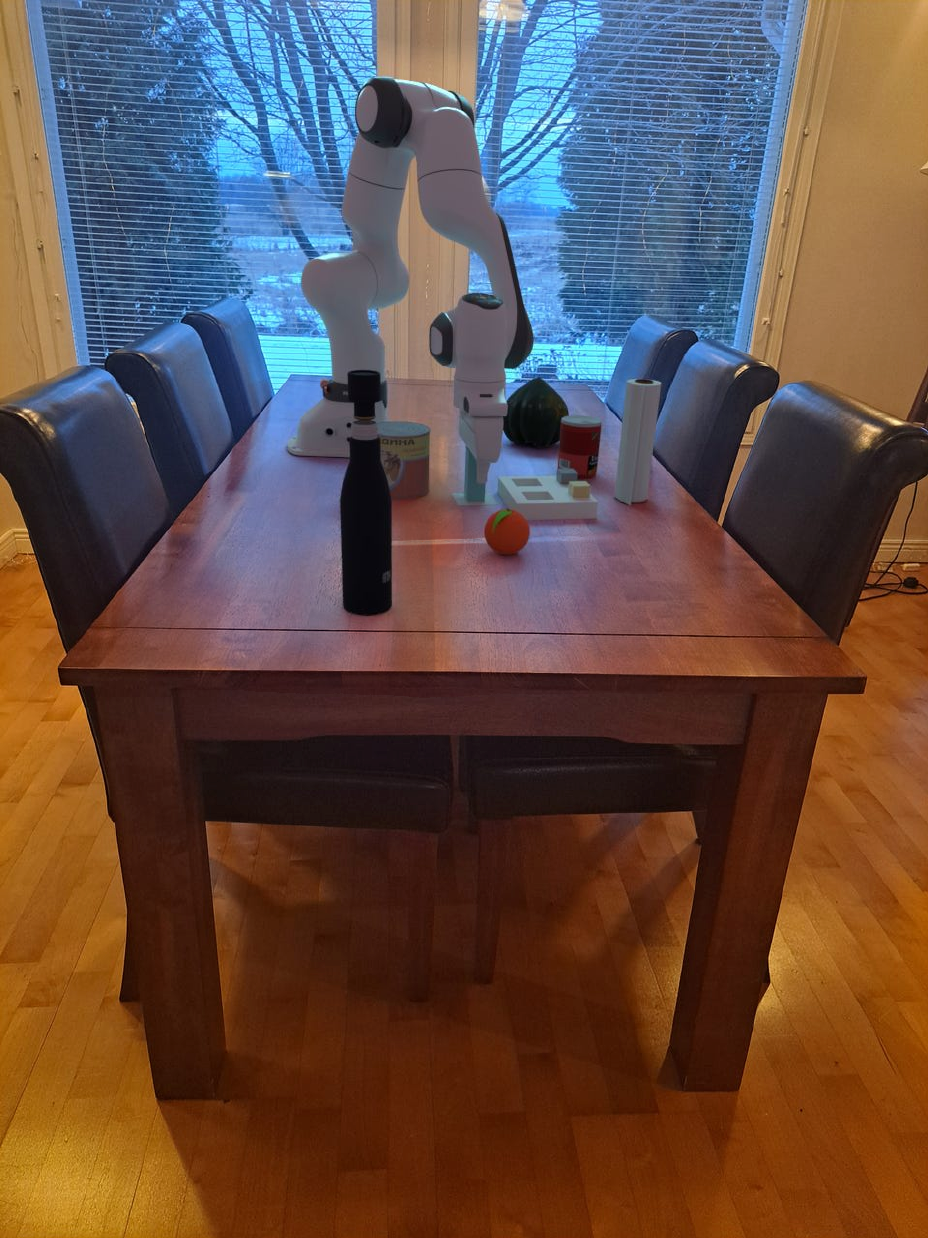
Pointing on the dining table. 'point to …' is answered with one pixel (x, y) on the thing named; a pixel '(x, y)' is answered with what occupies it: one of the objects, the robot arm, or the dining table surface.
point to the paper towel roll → (637, 440)
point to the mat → (462, 502)
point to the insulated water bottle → (365, 506)
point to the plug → (472, 480)
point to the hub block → (548, 496)
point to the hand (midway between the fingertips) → (476, 474)
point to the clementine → (507, 532)
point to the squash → (534, 414)
